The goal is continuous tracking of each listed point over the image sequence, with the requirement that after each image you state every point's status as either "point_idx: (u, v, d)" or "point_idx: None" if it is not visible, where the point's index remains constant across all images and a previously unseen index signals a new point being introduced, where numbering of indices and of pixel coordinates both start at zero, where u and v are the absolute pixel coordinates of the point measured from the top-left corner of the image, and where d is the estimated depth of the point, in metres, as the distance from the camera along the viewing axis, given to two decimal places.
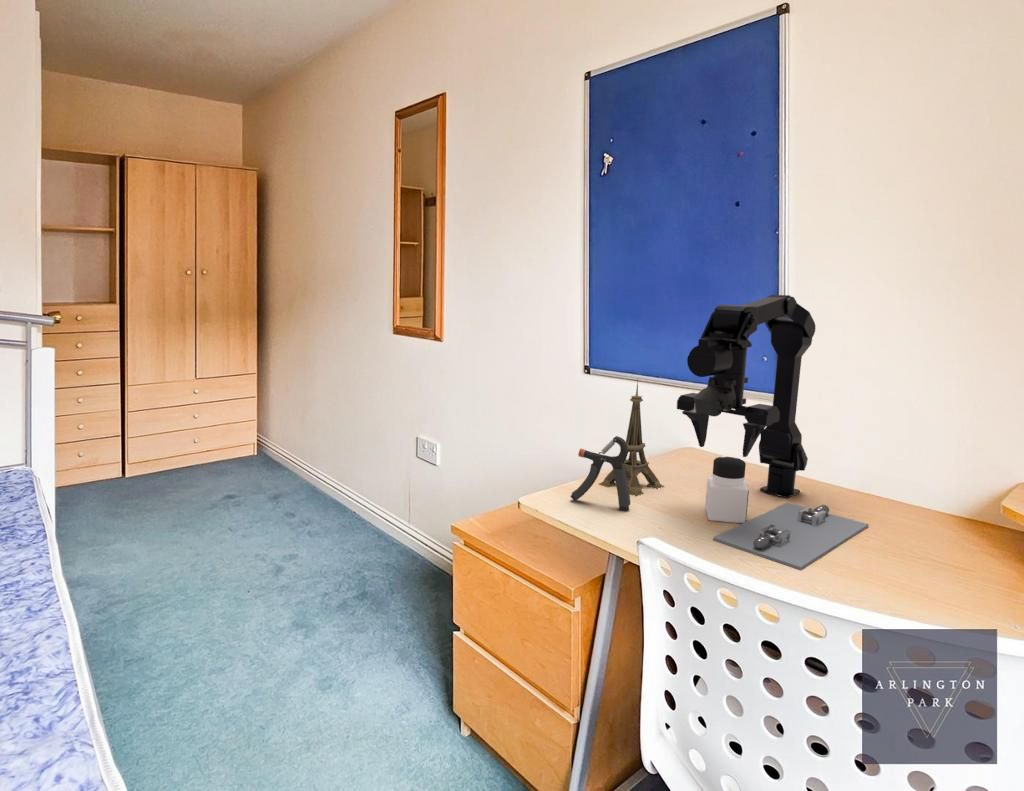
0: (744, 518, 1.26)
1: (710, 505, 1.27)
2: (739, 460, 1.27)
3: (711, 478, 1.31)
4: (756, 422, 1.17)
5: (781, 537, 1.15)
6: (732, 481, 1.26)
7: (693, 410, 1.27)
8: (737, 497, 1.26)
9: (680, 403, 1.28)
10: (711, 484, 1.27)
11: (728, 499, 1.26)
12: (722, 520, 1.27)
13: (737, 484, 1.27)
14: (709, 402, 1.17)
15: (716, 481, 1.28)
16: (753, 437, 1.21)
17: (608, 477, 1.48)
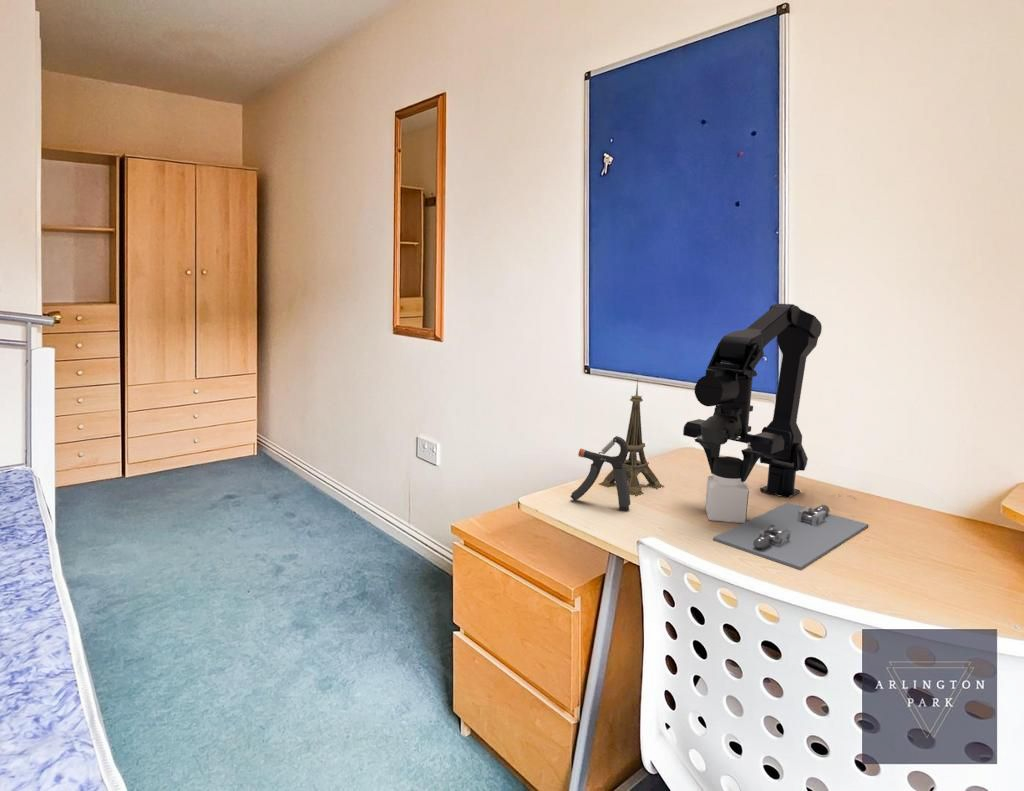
0: (744, 518, 1.26)
1: (710, 505, 1.27)
2: (739, 460, 1.27)
3: (711, 477, 1.31)
4: (761, 451, 1.20)
5: (781, 537, 1.15)
6: (732, 481, 1.26)
7: None
8: (737, 497, 1.26)
9: (686, 429, 1.31)
10: (711, 484, 1.27)
11: (729, 499, 1.26)
12: (722, 520, 1.27)
13: (737, 483, 1.27)
14: (716, 430, 1.20)
15: (716, 481, 1.28)
16: (751, 463, 1.25)
17: (608, 477, 1.48)
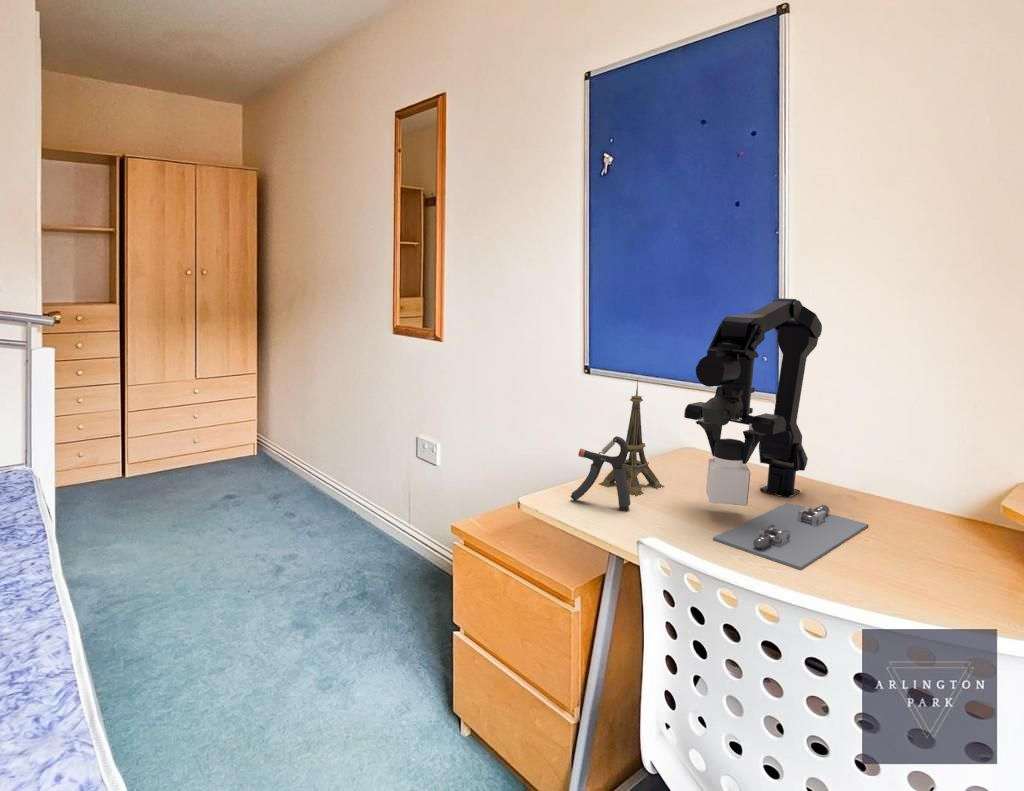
0: (745, 500, 1.25)
1: (711, 487, 1.26)
2: (740, 442, 1.27)
3: (712, 460, 1.30)
4: (763, 431, 1.19)
5: (781, 537, 1.15)
6: (733, 463, 1.25)
7: None
8: (739, 479, 1.25)
9: (687, 412, 1.30)
10: (712, 466, 1.27)
11: (730, 481, 1.25)
12: (723, 502, 1.26)
13: (739, 465, 1.26)
14: (717, 411, 1.20)
15: (717, 463, 1.27)
16: (753, 444, 1.25)
17: (608, 477, 1.48)
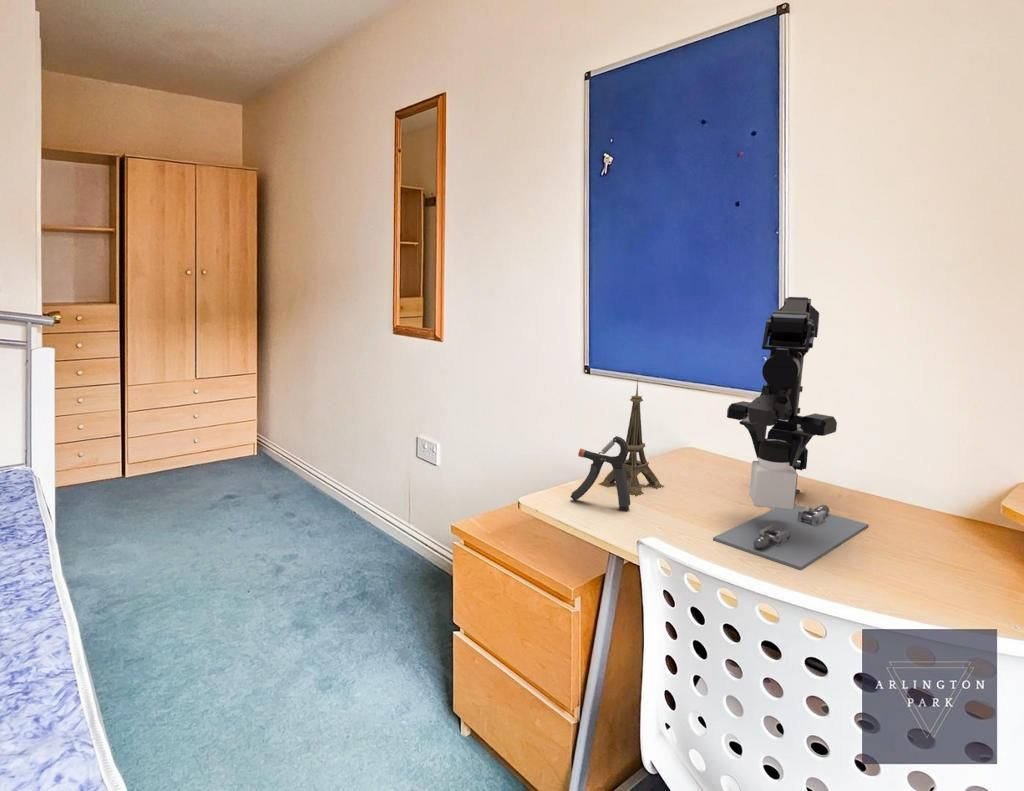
0: (792, 504, 1.20)
1: (756, 490, 1.21)
2: (787, 443, 1.21)
3: (756, 462, 1.25)
4: (813, 432, 1.14)
5: (781, 537, 1.15)
6: (779, 465, 1.20)
7: None
8: (785, 482, 1.19)
9: (731, 411, 1.25)
10: (757, 468, 1.21)
11: (776, 484, 1.20)
12: (769, 506, 1.21)
13: (785, 468, 1.20)
14: (764, 411, 1.14)
15: (762, 465, 1.22)
16: (801, 446, 1.19)
17: (608, 477, 1.48)
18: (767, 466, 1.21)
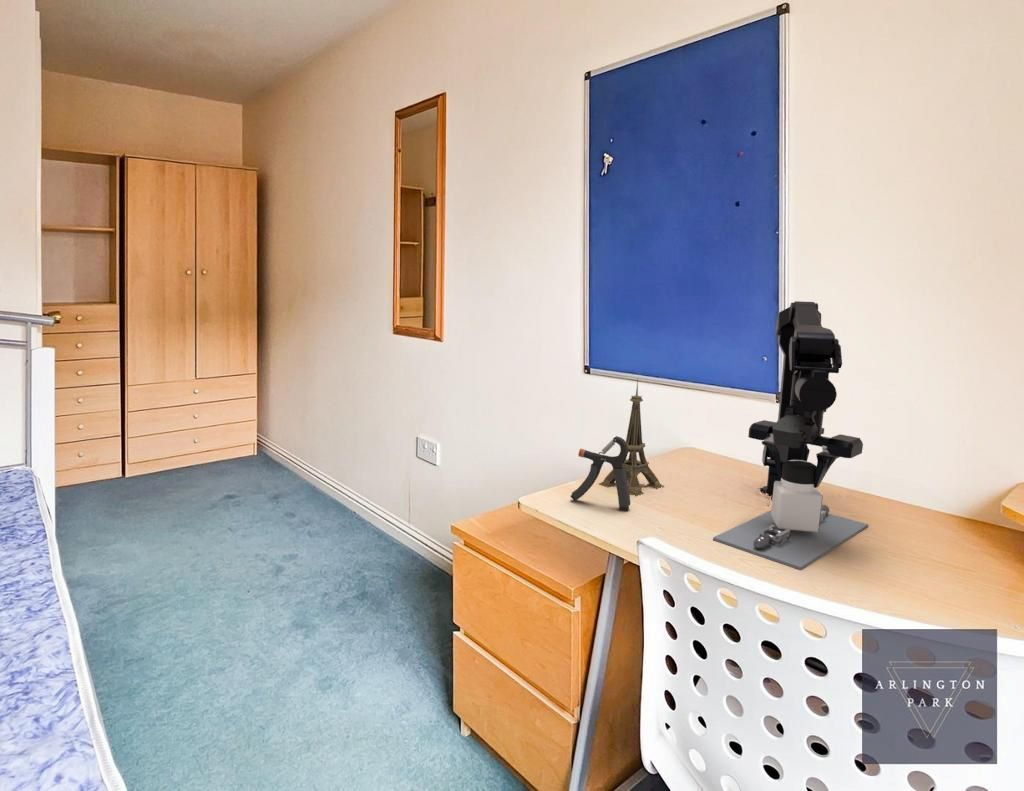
0: (817, 526, 1.18)
1: (780, 512, 1.19)
2: (811, 464, 1.19)
3: (779, 483, 1.23)
4: (840, 455, 1.12)
5: (781, 537, 1.15)
6: (804, 487, 1.18)
7: None
8: (810, 504, 1.17)
9: (753, 431, 1.23)
10: (781, 490, 1.19)
11: (800, 506, 1.18)
12: (793, 528, 1.19)
13: (810, 489, 1.18)
14: (791, 433, 1.12)
15: (786, 487, 1.20)
16: (825, 467, 1.17)
17: (608, 477, 1.48)
18: (791, 488, 1.19)
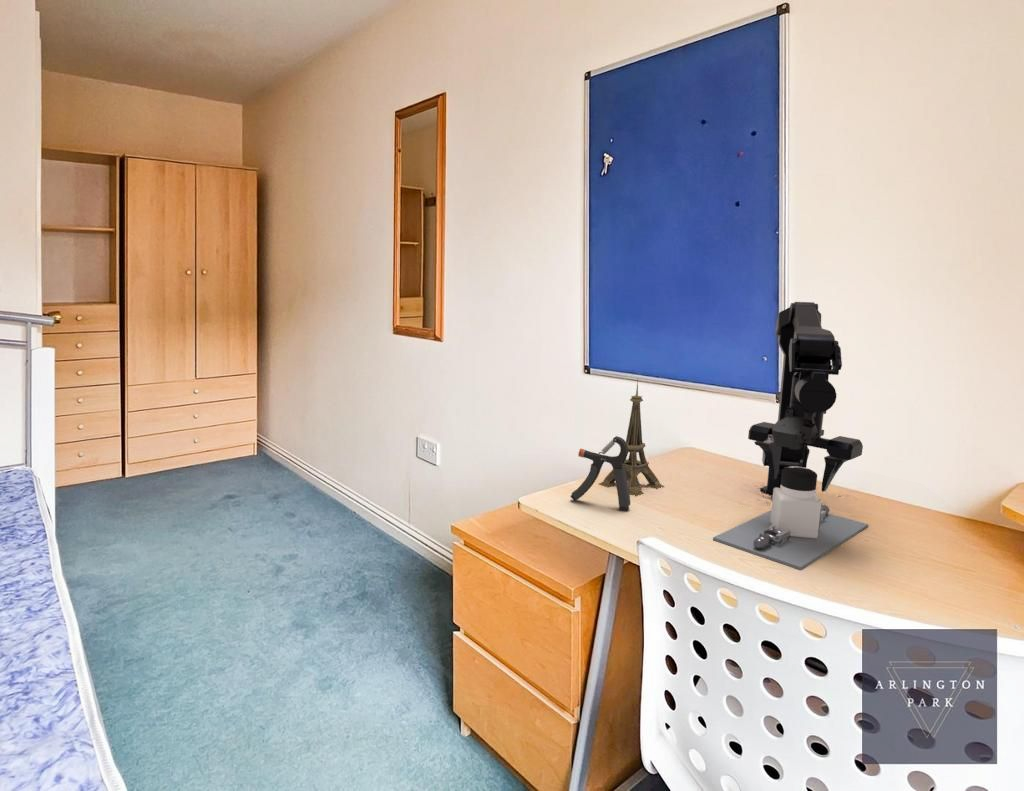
0: (816, 533, 1.18)
1: (779, 519, 1.19)
2: (810, 471, 1.19)
3: (778, 489, 1.23)
4: (840, 456, 1.12)
5: (781, 537, 1.15)
6: (803, 493, 1.18)
7: (767, 441, 1.22)
8: (809, 511, 1.17)
9: (752, 433, 1.23)
10: (780, 496, 1.19)
11: (800, 512, 1.18)
12: (792, 535, 1.19)
13: (809, 496, 1.18)
14: (790, 434, 1.12)
15: (785, 493, 1.20)
16: (833, 471, 1.16)
17: (608, 477, 1.48)
18: (790, 494, 1.19)
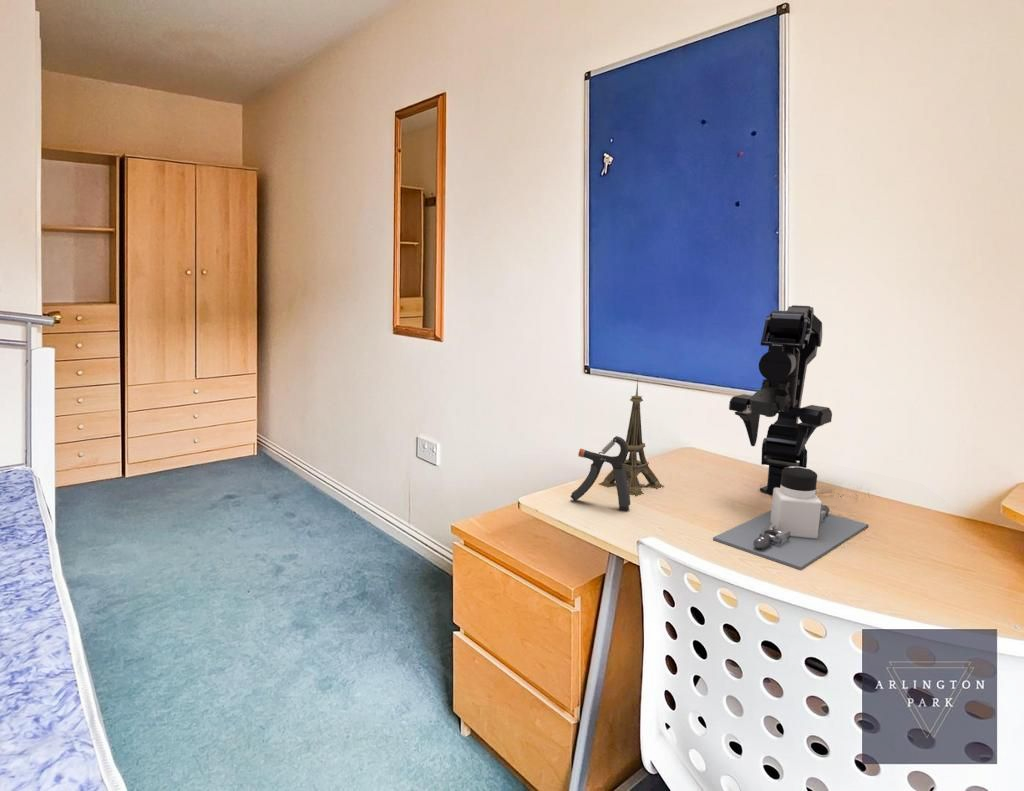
0: (816, 533, 1.18)
1: (779, 519, 1.19)
2: (810, 471, 1.19)
3: (778, 489, 1.23)
4: (811, 422, 1.22)
5: (781, 537, 1.15)
6: (803, 493, 1.18)
7: (746, 411, 1.33)
8: (809, 511, 1.17)
9: (733, 404, 1.34)
10: (780, 496, 1.19)
11: (800, 512, 1.18)
12: (792, 535, 1.19)
13: (809, 496, 1.18)
14: (766, 403, 1.23)
15: (785, 493, 1.20)
16: (805, 437, 1.27)
17: (608, 477, 1.48)
18: (790, 494, 1.19)
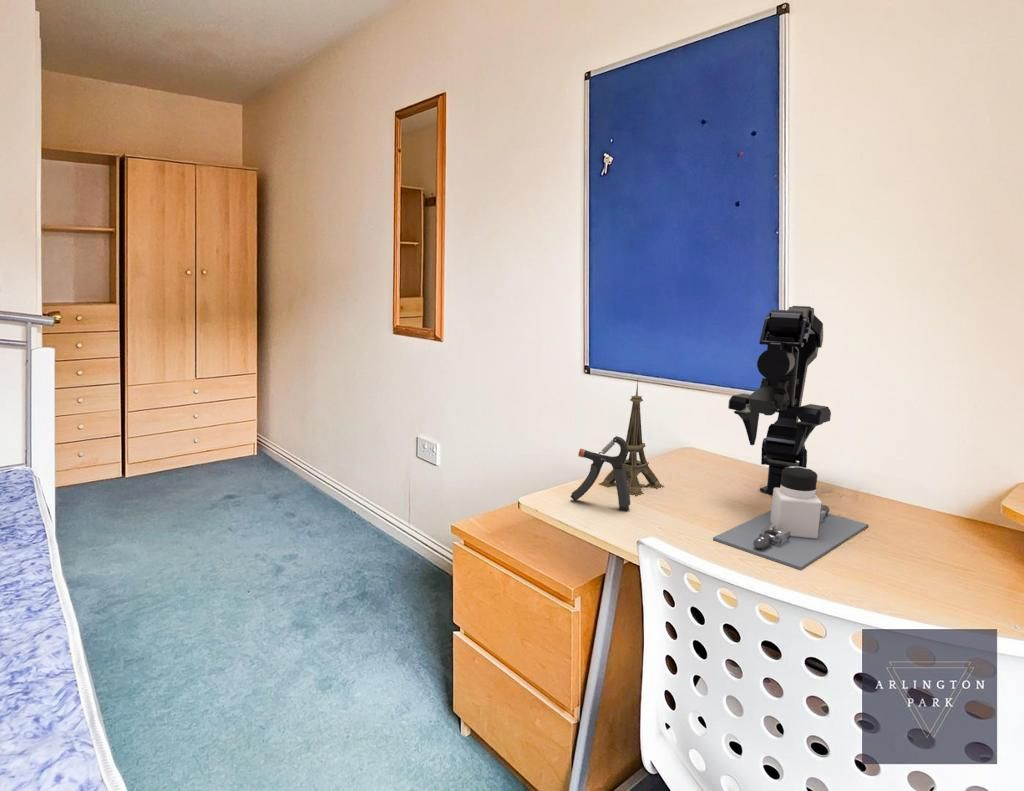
0: (816, 533, 1.18)
1: (779, 519, 1.19)
2: (810, 471, 1.19)
3: (778, 489, 1.23)
4: (809, 421, 1.23)
5: (781, 537, 1.15)
6: (803, 493, 1.18)
7: (745, 410, 1.33)
8: (809, 511, 1.17)
9: (732, 403, 1.34)
10: (780, 496, 1.19)
11: (800, 512, 1.18)
12: (792, 535, 1.19)
13: (809, 496, 1.18)
14: (765, 401, 1.23)
15: (785, 493, 1.20)
16: (804, 436, 1.27)
17: (608, 477, 1.48)
18: (790, 494, 1.19)
